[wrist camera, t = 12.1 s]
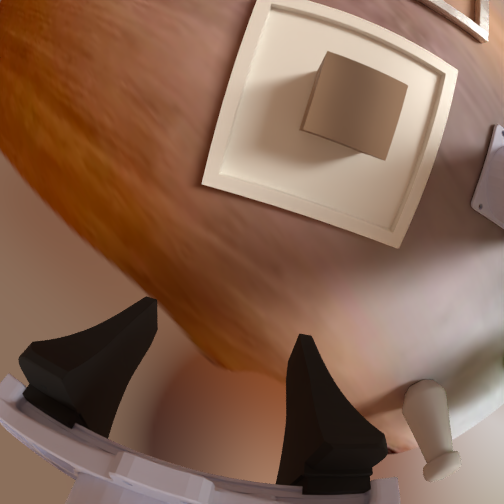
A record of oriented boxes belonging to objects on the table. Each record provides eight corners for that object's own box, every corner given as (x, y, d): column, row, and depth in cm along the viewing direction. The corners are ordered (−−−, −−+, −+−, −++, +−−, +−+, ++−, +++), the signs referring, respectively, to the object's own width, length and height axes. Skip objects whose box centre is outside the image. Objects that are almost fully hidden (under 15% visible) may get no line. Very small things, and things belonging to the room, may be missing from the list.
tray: (450, 72, 14) (458, 70, 12) (393, 242, 20) (398, 249, 19) (262, -3, 13) (260, -10, 12) (206, 181, 20) (201, 184, 19)
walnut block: (379, 94, 15) (408, 85, 11) (361, 152, 17) (385, 160, 13) (317, 70, 15) (327, 50, 11) (299, 130, 17) (303, 129, 13)
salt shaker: (393, 390, 27) (413, 484, 15) (434, 367, 25) (468, 458, 13) (406, 408, 28) (424, 490, 17) (443, 387, 26) (470, 467, 15)
